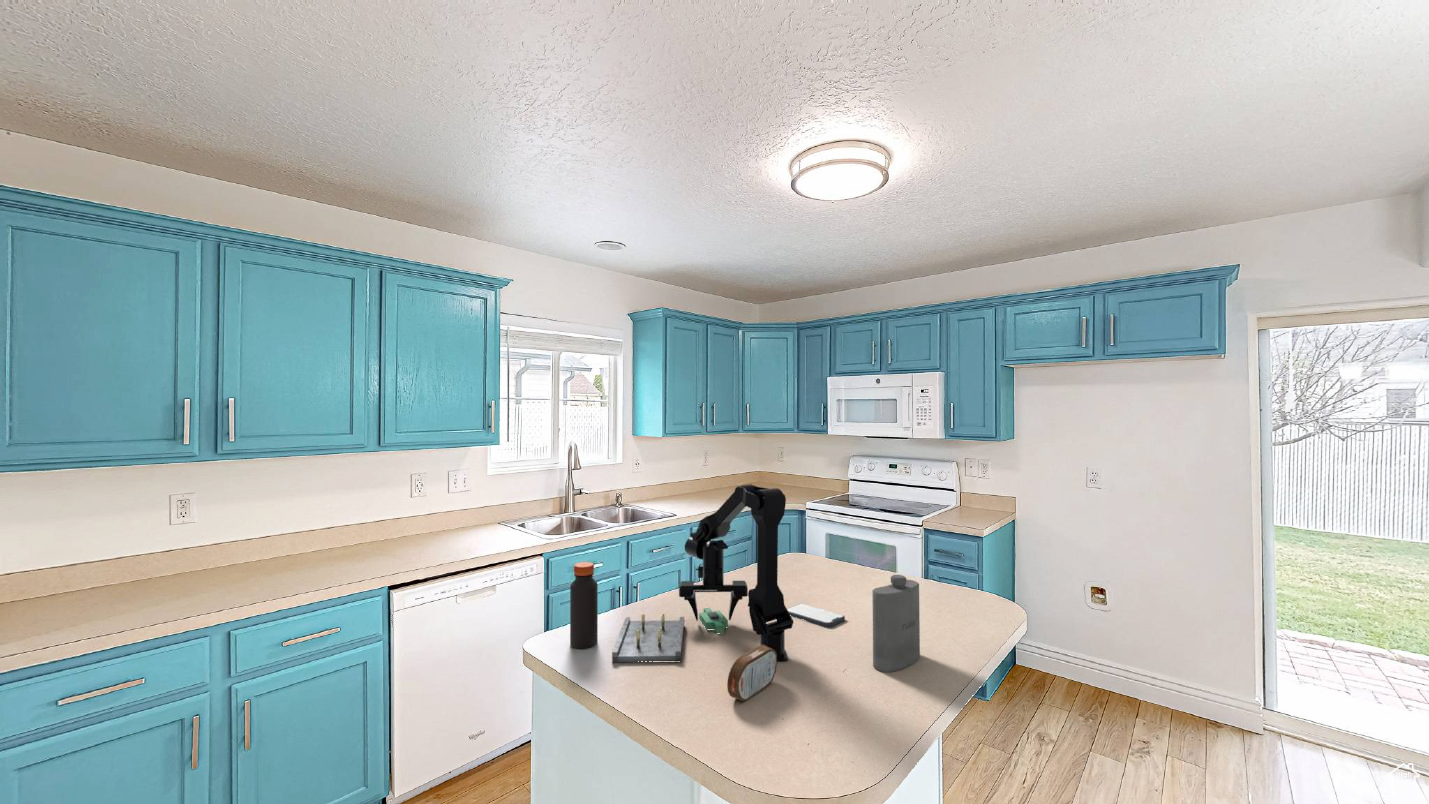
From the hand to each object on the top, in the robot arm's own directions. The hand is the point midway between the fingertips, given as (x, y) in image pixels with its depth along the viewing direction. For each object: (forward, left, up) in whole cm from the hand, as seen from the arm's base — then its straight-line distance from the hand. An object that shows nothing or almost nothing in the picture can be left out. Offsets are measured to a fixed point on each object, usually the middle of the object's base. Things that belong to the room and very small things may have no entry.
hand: (713, 619), depth 152 cm
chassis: (-12, +16, -1) cm, 20 cm away
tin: (-37, -8, -2) cm, 38 cm away
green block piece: (0, 0, -2) cm, 2 cm away
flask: (-24, -43, -1) cm, 49 cm away
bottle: (-12, +33, -1) cm, 35 cm away
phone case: (+5, -29, -2) cm, 29 cm away
